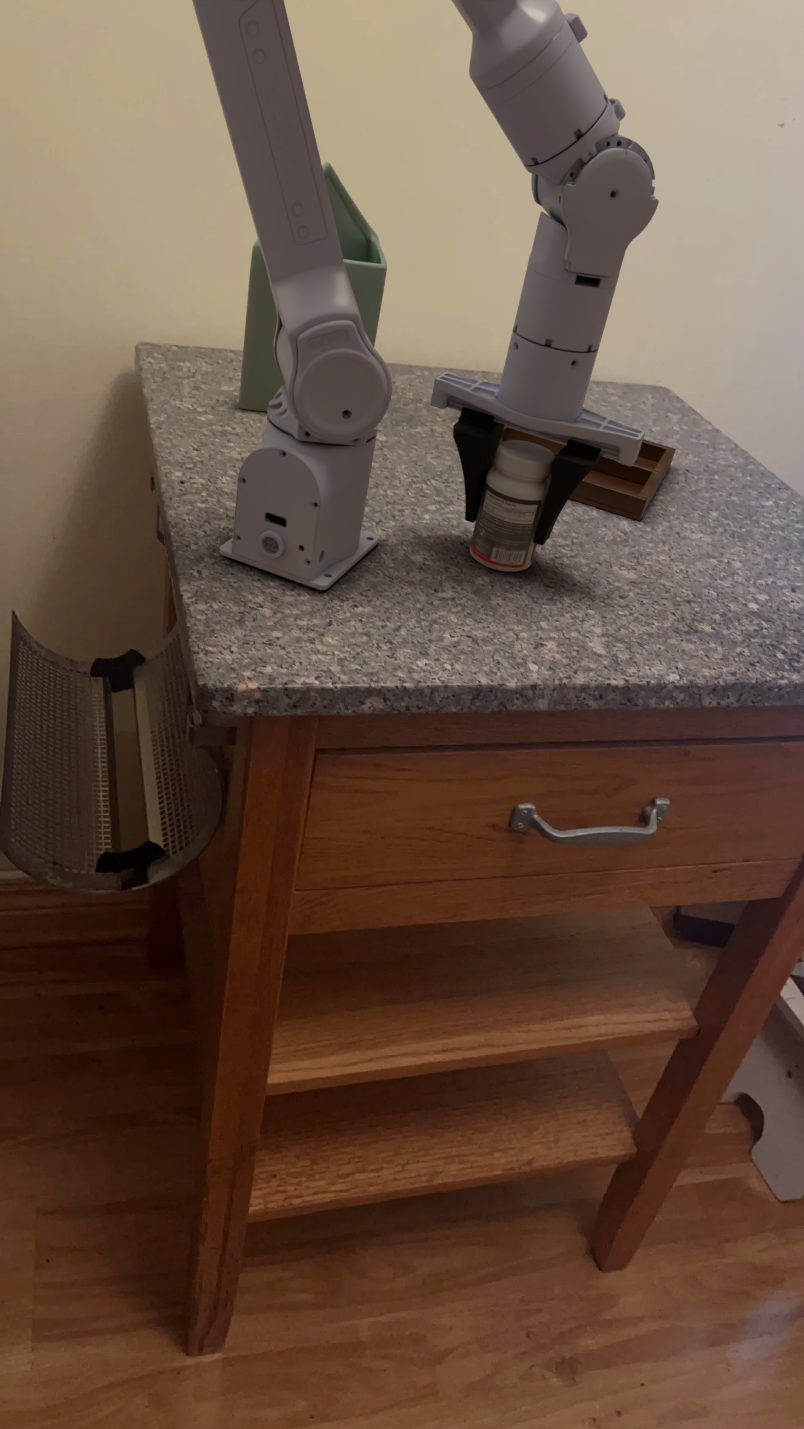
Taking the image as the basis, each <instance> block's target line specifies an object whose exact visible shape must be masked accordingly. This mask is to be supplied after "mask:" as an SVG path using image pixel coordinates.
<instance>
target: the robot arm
mask: <svg viewBox="0 0 804 1429" xmlns="http://www.w3.org/2000/svg"><path fill="white" fill-rule="evenodd" d="M191 2H192V6H193V9H194V13H195V16H196V20H197V24H198V27H199V31H200V35H201V38H202V41H203V44H204V48H205V52H206V56H207V59H208V63H209V67H210V70H211V73H212V77H213V78H212V79H213V81H214V84H215V88H216V92H217V96H218V99H219V102H220V103H219V104H220V106H221V110H222V114H223V117H224V121H225V125H226V128H227V132H228V136H229V139H230V142H231V146H232V149H233V153H234V158H235V161H236V164H237V168H238V171H239V175H240V179H241V182H242V186H243V189H244V193H245V196H246V201H247V204H248V207H249V210H250V211H249V212H250V215H251V219H252V222H253V226H254V230H255V233H256V237H257V239H258V240H259V244H260V247H261V251H262V255H263V258H264V262H265V266H266V269H267V273H268V277H269V282H270V287H271V291H272V295H273V299H274V302H275V306H276V312H277V326H276V331H275V336H274V345H273V349H274V357H275V360H276V363H277V366H278V368H279V370H280V372H281V373H282V376H283V379H284V382H285V385H283V386H281V387H280V389H279V390H278V392H277V393H276V394H275V396H274V398H273V400H271V401H270V402H269V404H268V412H266V413H267V416H266V424H265V430H264V432H263V436H262V439H261V440H260V442H259V444H258V445H257V446H256V448H255V449H254V450H252V451H251V452H250V453H249V454H248V455H247V457H245V459H244V460H243V462H242V463H241V466H240V469H239V471H238V476H237V487H236V498H235V509H234V519H233V522H234V523H233V531H232V532H233V534H232V538H230V539H229V540H227V541H226V542H224V543H223V544H222V545H220V546H219V549H218V550H219V554H220V555H221V556H223V557H226V558H229V559H231V560H235V561H237V562H240V563H243V564H246V565H248V566H251V567H254V568H256V569H260V570H262V571H265V572H268V573H270V574H273V575H276V576H279V577H281V578H285V579H287V580H290V581H293V582H296V583H298V584H302V585H305V586H307V587H311V588H313V589H316V590H318V591H327V589H329V588H330V587H331V586H332V585H334V584H335V583H336V582H337V581H338V580H339V579H340V578H341V577H342V576H344V575H345V574H346V573H347V572H348V571H349V570H351V568H352V567H353V566H355V565H356V564H357V563H358V562H359V561H360V560H361V559H362V558H363V557H365V556H366V555H367V554H368V553H369V552H370V551H372V549H374V548H375V547H376V546H377V545H378V544H379V542H380V536H379V535H377V534H376V533H373V532H370V531H367V530H364V529H362V528H363V521H364V516H365V510H366V502H367V498H368V492H369V491H368V490H369V485H370V478H371V473H372V467H373V461H374V454H375V448H376V442H377V436H378V431H379V424H380V423H381V421H382V420H383V418H384V417H385V416H386V414H387V411H388V410H389V407H390V403H391V400H392V395H393V382H392V375H391V372H390V370H389V367H388V365H387V363H386V361H385V360H384V359H383V357H382V356H381V355H380V353H379V352H378V350H376V348H375V346H374V347H373V346H372V344H371V342H370V340H369V338H368V337H367V334H366V330H365V327H364V325H363V323H362V321H361V316H360V312H359V309H358V306H357V303H356V299H355V296H354V293H353V290H352V287H351V284H350V281H349V278H348V274H347V271H346V268H345V264H344V260H343V256H342V251H341V247H340V243H339V238H338V234H337V230H336V225H335V221H334V217H333V212H332V208H331V203H330V199H329V195H328V190H327V186H326V182H325V177H324V173H323V169H322V165H323V164H322V161H321V157H320V152H319V148H318V142H317V139H316V134H315V130H314V126H313V122H312V117H311V113H310V108H309V103H308V99H307V95H306V92H305V87H304V86H305V85H304V83H303V82H304V81H303V78H302V74H301V70H300V69H301V68H300V65H299V61H298V56H297V52H296V47H295V43H294V39H293V35H292V30H291V26H290V22H289V18H288V13H287V9H286V4H285V0H191ZM451 2H452V3H453V5H454V7H455V8H456V10H457V11H458V13H459V15H460V16H461V17H462V19H463V21H464V23H465V24H466V25H467V27H468V29H469V30H470V32H471V35H472V38H471V39H472V41H471V51H470V60H469V66H468V67H469V68H468V74H469V78H470V80H471V81H472V82H473V84H474V86H475V88H476V90H477V91H478V93H479V94H480V96H481V97H482V99H483V101H484V103H485V104H486V106H487V108H488V109H489V110H490V113H491V114H492V116H493V118H494V119H495V121H496V122H497V124H498V126H499V127H500V129H501V130H502V132H503V134H504V135H505V138H506V139H507V140H508V142H509V143H510V145H511V148H513V150H514V152H515V154H516V156H517V157H518V159H519V160H520V162H521V164H522V165H523V166H524V168H525V170H526V172H528V173H530V174H531V180H530V181H531V184H530V185H531V193H532V198H533V200H534V202H535V203H536V204H537V205H539V206H541V207H542V209H543V210H544V211H540V213H539V216H538V221H537V226H536V230H535V234H534V239H533V243H532V246H531V247H532V248H531V252H530V254H529V257H528V261H527V266H526V270H525V275H524V279H523V282H522V283H523V284H522V286H521V287H522V288H521V291H520V292H521V293H520V296H519V301H518V305H517V310H516V313H515V317H514V318H515V319H514V322H513V328H512V331H511V335H510V340H509V344H508V348H507V352H506V358H505V361H504V366H503V370H502V374H501V379H500V383H498V382H492V381H487V380H481V379H476V378H471V377H466V376H461V375H457V374H454V373H450V372H447V371H444V372H443V373H441V374H440V375H438V376H437V377H435V378H434V382H433V388H432V393H431V397H430V404H429V405H430V406H431V407H435V408H438V409H442V410H445V409H446V408H449V409H453V410H456V411H458V412H460V414H459V416H458V420H457V422H456V423H454V424H453V428H452V436H453V440H454V443H455V446H456V449H457V452H458V456H459V460H460V466H461V469H462V475H463V483H464V495H465V497H464V499H465V508H464V509H465V512H464V520H465V522H469V523H472V524H475V523H476V518H477V514H478V509H479V505H480V501H481V496H482V492H483V488H484V483H485V479H486V475H487V473H488V471H489V470H490V469H491V468H492V466H493V462H494V459H495V455H496V452H497V449H498V445H499V442H500V439H501V436H502V433H503V430H504V427H505V425H508V426H511V427H514V428H518V429H521V430H524V431H527V432H531V433H534V434H537V435H540V436H544V437H547V438H550V439H554V440H557V441H560V442H563V443H567V445H566V446H565V447H564V448H562V449H561V450H560V451H559V453H558V454H557V455H556V456H555V459H554V464H553V470H552V476H551V481H550V486H549V490H548V495H547V499H546V503H545V507H544V510H543V512H542V515H541V518H540V521H539V524H538V527H537V530H536V533H535V538H534V543H535V544H537V546H544V545H545V544H546V542H547V541H548V539H549V538H550V537H551V535H552V532H553V529H554V527H555V524H556V522H557V520H558V518H559V516H560V514H561V512H562V511H563V509H564V507H565V506H566V504H567V503H568V501H569V498H570V496H571V495H572V493H573V492H574V490H575V489H576V487H577V486H578V485H579V484H580V482H581V481H582V480H583V479H584V478H585V477H586V475H587V474H588V473H589V472H590V471H591V470H592V468H593V467H594V466H595V464H596V463H597V462H598V460H599V459H600V458H601V457H602V455H606V456H609V457H613V458H616V459H617V462H618V463H621V464H624V465H627V466H630V467H631V466H632V465H633V464H634V462H635V461H636V459H637V457H638V454H639V450H640V447H641V444H642V441H643V439H645V436H646V435H645V434H646V431H644V430H641V429H639V428H635V427H632V426H631V425H626V424H624V423H622V422H619V421H618V420H617V421H616V420H614V419H612V418H610V417H607V416H606V415H602V414H600V413H598V412H597V411H593V410H591V409H589V408H586V407H584V403H585V399H586V396H587V392H588V389H589V385H590V382H591V378H592V374H593V371H594V368H595V364H596V359H597V356H598V353H599V349H600V346H601V342H602V339H603V335H604V331H605V327H606V324H607V320H608V317H609V313H610V310H611V306H612V302H613V299H614V295H615V292H616V288H617V284H618V281H619V277H620V272H621V269H622V265H623V261H624V258H625V255H626V251H627V249H628V248H629V245H631V243H632V242H633V240H635V239H636V238H637V237H638V236H639V235H640V234H641V233H643V231H644V230H645V229H646V228H647V226H648V225H649V224H650V223H651V220H652V219H653V217H654V215H655V213H656V211H657V209H658V206H659V199H658V198H656V196H655V190H656V189H655V188H656V187H655V185H653V181H655V180H656V174H655V168H654V166H653V162H652V160H651V157H650V156H649V154H648V152H647V151H646V150H645V148H644V147H642V146H641V145H640V144H639V143H638V142H636V141H635V140H632V139H631V138H628V137H627V136H624V135H622V134H619V131H620V127H621V121H622V120H623V119H624V118H625V117H626V115H627V113H626V111H625V109H624V107H623V105H622V102H621V101H620V99H617V98H615V97H610V98H609V96H608V95H607V93H606V91H605V89H604V88H603V85H602V84H601V83H602V82H601V81H600V80H599V78H598V76H597V74H596V72H595V70H594V68H593V66H592V65H591V63H590V60H589V59H588V57H587V55H586V54H585V52H584V50H583V48H582V46H581V44H580V43H581V42H583V41H584V40H585V39H586V38H587V37H588V30H587V28H586V27H585V25H584V22H583V21H582V19H581V16H580V15H579V14H577V13H573V12H567V13H565V14H564V12H563V10H562V8H561V7H560V4H559V3H558V2H557V0H451ZM545 212H546V213H545Z"/></svg>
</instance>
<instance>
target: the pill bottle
mask: <svg viewBox="0 0 804 1429" xmlns="http://www.w3.org/2000/svg"><path fill="white" fill-rule="evenodd" d="M554 459H555V455H554V454H553V453H552V452H551V451H550V450H548V449H547V448H545V447H543V446H540V445H538V444H535V443H531V442H527V441H520V440H507V441H503V442H501V443H500V444H499V447H498V451H497V454H496V457H495V466H494V467H492V468H491V469H490V470H489V471H488V473H487V475H486V479H485V483H484V488H483V492H482V496H481V501H480V505H479V509H478V514H477V518H476V521H475V522H474V527H473V531H472V532H473V533H472V536H471V539H470V544H469V553H470V555H471V556H472V558H473V559H474V560H475V561H476V562H478V563H479V564H480V565H483V566H485V567H486V568H489V569H491V570H494V571H498V572H499V571H500V572H508V573H512V572H514V573H515V572H520V571H524V570H527V569H529V567H531V565H532V563H533V560H534V557H535V553H536V550H537V547H538V544H535V543H534V538H535V533H536V530H537V527H538V524H539V521H540V518H541V515H542V512H543V510H544V507H545V503H546V499H547V495H548V490H549V486H550V481H549V479H548V478H549V477H550V475H551V473H552V470H553V464H554Z"/></svg>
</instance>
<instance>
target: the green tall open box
mask: <svg viewBox="0 0 804 1429" xmlns="http://www.w3.org/2000/svg"><path fill="white" fill-rule="evenodd" d="M322 169H323V173H324V177H325V182H326V186H327V190H328V195H329V199H330V203H331V208H332V212H333V217H334V221H335V225H336V230H337V234H338V238H339V243H340V247H341V251H342V256H343V260H344V264H345V268H346V271H347V274H348V278H349V281H350V284H351V287H352V290H353V293H354V296H355V299H356V303H357V306H358V309H359V312H360V316H361V321H362V323H363V325H364V327H365V330H366V334H367V337H368V338H369V340H370V342H371V344H372V346H373V347H374V348H375V346H376V339H377V333H378V327H379V323H380V322H379V321H380V316H381V310H382V304H383V297H384V292H385V285H386V278H387V270H388V264H387V263H388V262H387V259H386V256H385V254H384V252H383V249H382V248H381V244H380V239H379V236H378V234H377V233H376V231H375V230H374V229H373V228H372V227H371V225H370V223H369V222H368V221H367V219H366V218H365V216H364V215H363V213H362V212H361V211H360V208H359V207H358V206H357V204H356V203H355V201H354V200H353V198H352V197H351V195H350V194H349V193H348V191H347V189H346V187H345V185H344V184H343V182H342V181H341V179H340V178H339V176H338V174H337V172H336V171H335V169H334V167H333V166H332V164H331V163H330V162H328V161H326V162H324V163H323V164H322ZM248 279H249V280H248V290H247V302H246V312H245V313H246V314H245V323H244V324H245V325H244V336H243V346H242V347H243V349H242V358H241V359H242V360H241V372H240V384H239V385H240V386H239V396H238V408H239V409H241V410H247V411H256V412H257V411H258V412H266V413H268V404H269V402H270V401H271V400H273V398H274V396H275V394H276V393H277V392H278V390H279V389H280V387H281V386H283V385H285V382H284V379H283V376H282V373H281V372H280V370H279V368H278V366H277V363H276V360H275V357H274V349H273V345H274V336H275V331H276V326H277V312H276V306H275V302H274V299H273V295H272V291H271V287H270V282H269V277H268V273H267V269H266V266H265V262H264V258H263V255H262V251H261V247H260V244H259V240H258V238H257V239H256V240H255V242H254V244H253V246H252V248H251V258H250V268H249V278H248Z"/></svg>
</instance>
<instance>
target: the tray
mask: <svg viewBox="0 0 804 1429" xmlns="http://www.w3.org/2000/svg"><path fill="white" fill-rule="evenodd" d="M507 440H520V441H527V442H531V443H535V444H538V445H540V446H543V447H545V448H547V449H548V450H550V451H551V452H552V453H553V454H554V455H555V456H556V455H557V454H558V453H559V451H560V450H561V449H562V448H564V447H565V446H566V445H567V443H563V442H560V441H557V440H554V439H550V438H547V437H544V436H540V435H537V434H534V433H531V432H527V431H524V430H521V429H518V428H514V427H511V426H508V425H505V427H504V430H503V433H502V436H501V439H500V442H499V444H500V443H501V442H503V441H507ZM498 447H499V445H498ZM676 450H677V449H676V448H674V447H671V446H668V445H664V444H661V443H658V442H654V441H651V440H648V439H645V438H643V441H642V444H641V447H640V450H639V454H638V457H637V459H636V461H635V462H634V464H633V465H632V466H631V467H630V466H627V465H624V464H621V463H618V462H617V459H616V458H613V457H609V456H606V455H602V457H601V458H600V459H599V460H598V462H597V463H596V464H595V466H594V467H593V468H592V470H591V471H590V472H589V473H588V474H587V475H586V477H585V478H584V479H583V480H582V481H581V482H580V484H579V485H578V486H577V487H576V489H575V490H574V492H573V493H572V495H571V496H570V498H569V499H570V500H573V501H576V502H579V503H582V504H585V505H589V506H591V507H594V508H598V509H601V510H604V511H607V512H611V513H613V514H616V515H620V516H622V517H626V518H629V519H632V520H635V521H639V522H640V521H641V519H642V518H643V516H644V514H645V512H646V511H647V509H648V507H649V505H650V503H651V501H652V500H653V498H654V496H655V495H656V493H657V491H658V489H659V487H660V486H661V484H662V482H663V481H664V478H665V477H666V475H667V473H668V471H669V470H670V468H671V465H672V462H673V459H674V456H675V453H676ZM497 451H498V449H497ZM496 454H497V452H496ZM495 457H496V455H495ZM494 466H495V459H494V462H493V466H492V467H494ZM551 476H552V473H551V475H550V477H549V478H548V479H549V481H551ZM569 499H568V500H569Z"/></svg>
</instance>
